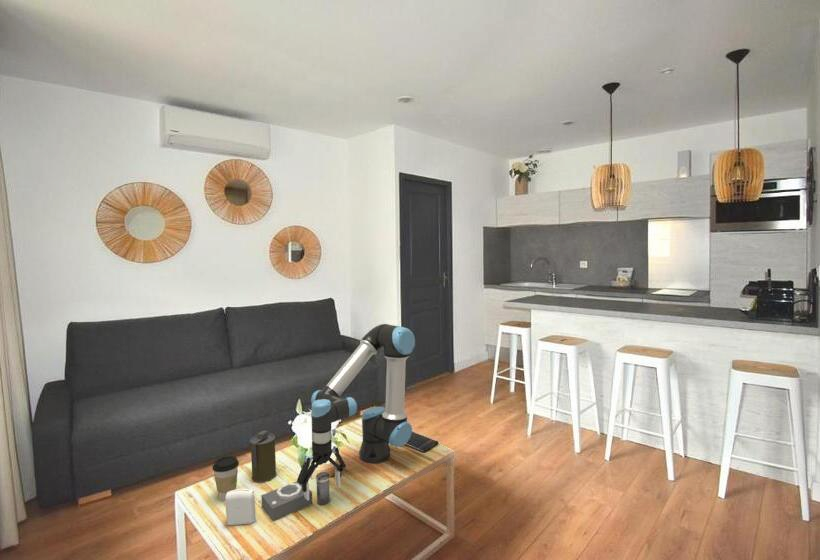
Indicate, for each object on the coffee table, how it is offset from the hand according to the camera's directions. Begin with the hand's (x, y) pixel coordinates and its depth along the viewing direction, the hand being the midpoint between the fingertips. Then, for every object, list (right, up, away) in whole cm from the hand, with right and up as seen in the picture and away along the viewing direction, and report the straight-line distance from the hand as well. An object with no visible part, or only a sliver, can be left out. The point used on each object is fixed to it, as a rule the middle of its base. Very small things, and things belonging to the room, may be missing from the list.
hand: (322, 492), depth 166 cm
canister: (-30, -3, +19) cm, 36 cm away
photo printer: (-28, -6, -11) cm, 30 cm away
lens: (0, -4, +1) cm, 4 cm away
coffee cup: (-40, -4, +5) cm, 40 cm away
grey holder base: (-13, -4, -1) cm, 13 cm away
